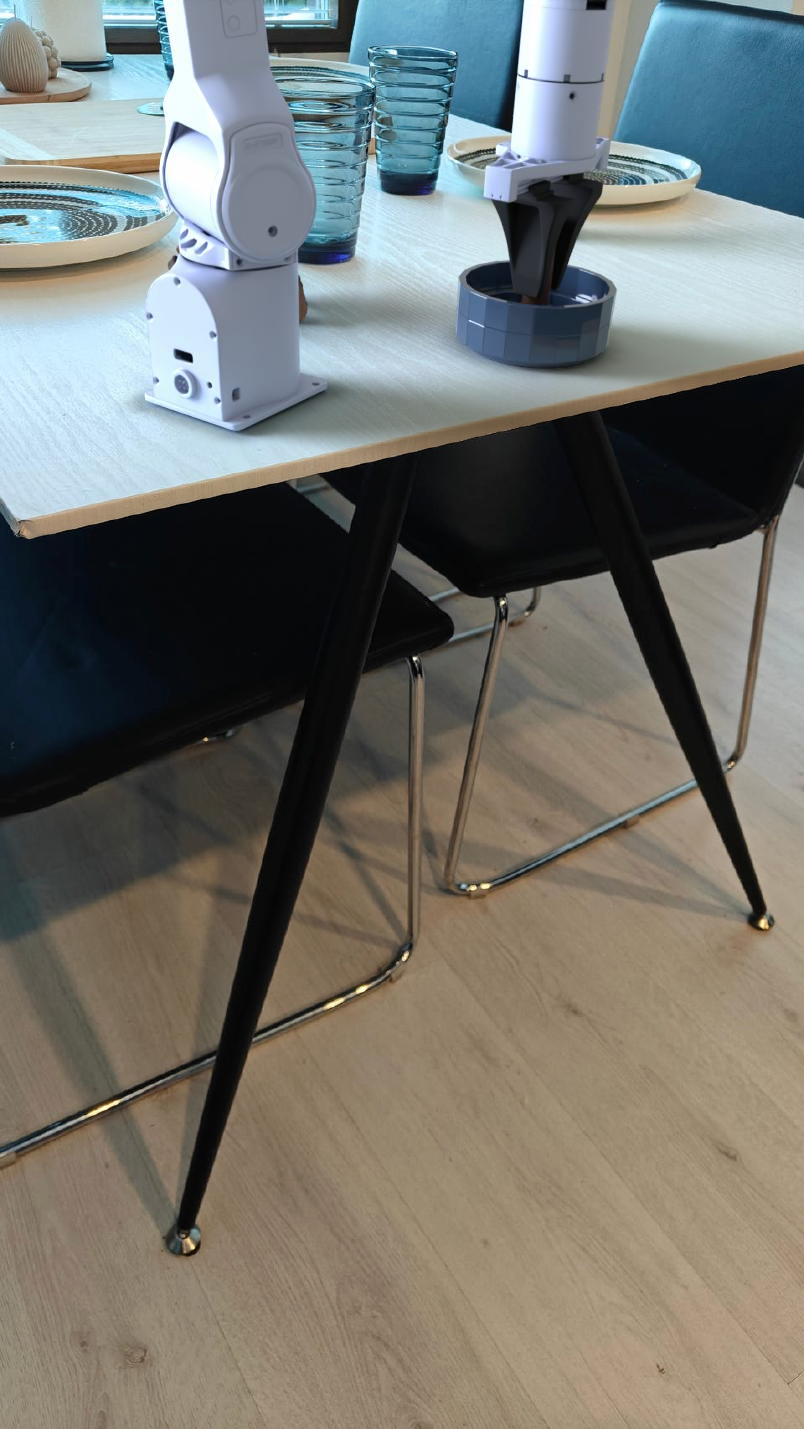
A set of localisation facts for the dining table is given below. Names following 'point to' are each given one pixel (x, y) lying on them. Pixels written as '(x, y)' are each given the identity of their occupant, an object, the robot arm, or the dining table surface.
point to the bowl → (534, 317)
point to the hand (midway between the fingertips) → (536, 290)
